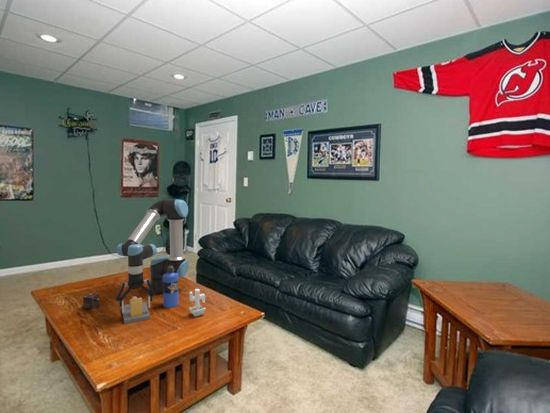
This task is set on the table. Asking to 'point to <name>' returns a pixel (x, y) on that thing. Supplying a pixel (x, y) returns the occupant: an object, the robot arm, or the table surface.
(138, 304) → the tan rectangular block
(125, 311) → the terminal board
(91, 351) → the table surface
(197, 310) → the figurine
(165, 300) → the water bottle
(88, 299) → the box
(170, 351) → the table surface
